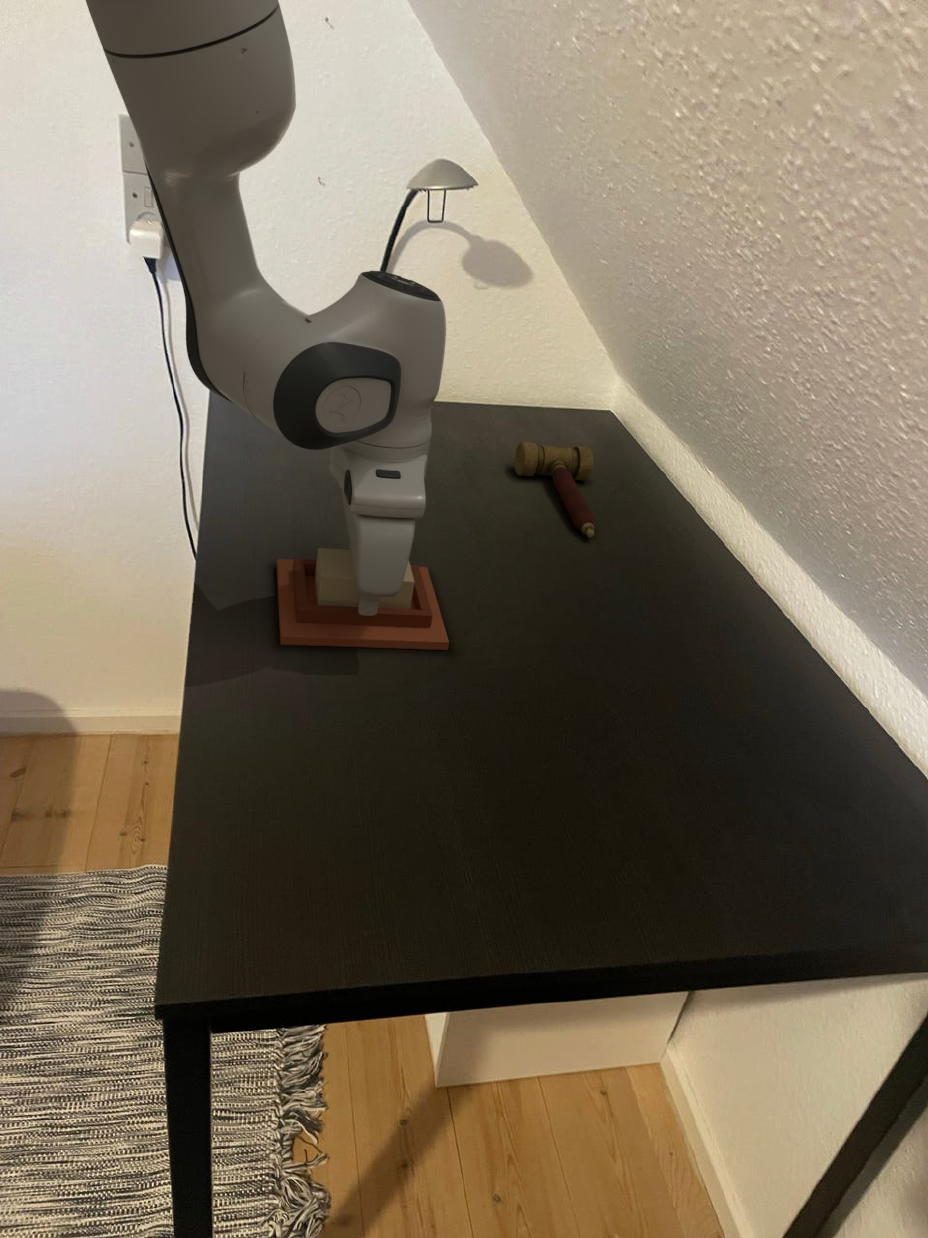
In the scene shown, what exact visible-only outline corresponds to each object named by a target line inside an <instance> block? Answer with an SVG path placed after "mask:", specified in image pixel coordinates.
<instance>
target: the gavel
mask: <svg viewBox="0 0 928 1238" xmlns="http://www.w3.org/2000/svg"><path fill="white" fill-rule="evenodd" d="M593 467H594V454H593V451H592V448H590V447H587V446H574V447H573V448H570V447H561V446H551V445H550V446H549V445H540V446H538V445H537V444H536V442H532V441H523V440H521V441H520V442H519V443H518V444H517V446H516V450H515V453H514V470H515V473H516V474H517V476H522V477H533V476H534V475H535V474H537V475H539V476H550V477H552V481H553V485H554V486H555V488H556V490H557V492H558V494H559V496H560V498H561V501H562V503H563V504H564V506H565V509H566V512H567V513H568V515H569V518H570V519H571V522H572V523H573V526H574V527H575V528H576V529H577V530H578V531H580V532H581V533H582V534H583V535H585V536H586V537H587V538H590V539H591V538H594V536H595V518H594V516H593V514H592V511H591V510H590V508H589V505H588V504H587V502H586V500H585V499H584V497H583V494H582V493H581V491H580V489H579V486H578V485H577V483H576V481H588V479H589V478H590V477H591V475H592V472H593Z"/></svg>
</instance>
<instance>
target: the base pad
mask: <svg viewBox="0 0 928 1238" xmlns="http://www.w3.org/2000/svg"><path fill="white" fill-rule="evenodd" d="M316 564H317V559H314V558H312V559H311V558H293V559H290V558H289V559H286V558H277V560H276V581H277V584H276V585H277V601H278V602H277V603H278V604H277V605H278V621H279V622H278V624H279V626H278V627H279V644H280V645H283V646H284V645H285V646H312V647H342V648H372V649H403V650H428V651H429V650H433V651H434V650H435V651H448V650H449V644H450V639H449V638H448V635H447V634H448V633H447V630H446V627H445V623H444V620H443V616H442V614H441V609H440V606H439V603H438V600H437V597H436V593H435V589H434V586H433V583H432V579H431V576H430V572H429V568H428V567H427V566H419V565H418V564H410V567H411V571H412V574H413V578H414V588H413V594H412V600H411V605H410V609H392V608H378V610H377V613H376V614H375V615H373V616H367V615H360V614H359V612H358V607H347V606H325V605H317V599H316V589H315V573H316Z"/></svg>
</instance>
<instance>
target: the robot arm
mask: <svg viewBox="0 0 928 1238" xmlns="http://www.w3.org/2000/svg"><path fill="white" fill-rule="evenodd" d="M85 3H86V7H87V9H88V12H89V15H90V18H91V20H92V23H93V25H94V28H95V32H96V35H97V37H98V40H99V42H100V45H101V47H102V51H103V53H104V56H105V58H106V61H107V64H108V66H109V69H110V72H111V74H112V76H113V79H114V82H115V83H116V86H117V89H118V91H119V93H120V97H121V98H122V101H123V104H124V106H125V109H126V112H127V114H128V116H129V120H130V121H131V124H132V126H133V128H134V132H135V134H136V137H137V140H138V145H139V148H140V150H141V151H140V152H141V154H142V158H143V162H144V166H145V170H146V173H147V177H148V181H149V185H150V187H151V190H152V194H153V197H154V200H155V204H156V207H157V210H158V213H159V216H160V219H161V222H162V226H163V228H164V231H165V235H166V238H167V241H168V244H169V248H170V250H171V253H172V257H173V260H174V263H175V266H176V270H177V272H178V275H179V279H180V282H181V286H182V288H183V295H184V296H183V297H184V301H185V303H184V304H185V343H186V344H185V345H186V347H185V348H186V354H187V358H188V361H189V364H190V367H191V369H192V372H193V374H194V375H195V376H196V378H197V379H198V380H199V382H200V383H201V384H202V385H203V386H204V387H205V388H207V389H208V390H209V391H211V392H212V393H214V394H216V395H218V396H219V397H221V398H223V399H225V400H226V401H228V402H230V403H232V404H234V405H236V406H237V407H239V409H241V410H243V411H244V412H245V413H246V414H248V415H250V416H251V417H252V418H253V419H255V420H256V421H257V422H259V423H260V424H262V425H264V426H265V427H266V428H268V429H269V430H271V431H272V432H273V433H274V434H277V435H278V437H281V438H282V439H284V440H285V441H287V442H289V443H291V444H293V445H294V446H296V447H299V448H301V449H304V450H310V451H319V450H326V449H330V455H329V465H328V469H329V472H330V474H331V476H332V477H333V478H334V479H335V480H336V481H337V483H338V485H339V486H340V488H341V498H342V499H341V500H342V505H343V510H344V516H345V522H346V529H347V533H348V540H349V546H348V550H351V551H352V557H353V563H354V568H355V574H356V580H357V585H358V591H359V593H358V601H357V606H358V612H359V614H360V615H367V616H373V615H375V614H376V613H377V610H378V604H379V600H380V598H381V597H394V596H396V595H397V594H398V592H399V591H400V589H401V587H402V584H403V581H404V577H405V573H406V569H407V565H408V560H409V561H410V556H411V552H412V548H413V542H414V538H415V531H416V519H422V518H424V515H425V511H426V504H427V491H426V490H427V488H426V475H427V469H428V463H429V453H430V446H431V442H432V435H433V427H432V426H433V425H432V417H431V416H432V408H433V405H434V402H435V400H436V398H437V396H438V394H439V391H440V387H441V382H442V381H441V380H442V375H443V368H444V362H445V353H446V342H447V316H446V310H445V306H444V302H443V300H442V299H441V298H440V297H439V295H438V294H437V293H436V292H435V291H433V290H432V289H430V288H428V287H427V286H425V285H424V284H423V285H422V284H421V283H418V282H416V281H414V280H412V279H408V278H405V277H402V276H401V275H397V274H394V273H392V272H391V273H390V272H385V271H380V270H369V271H368V270H367V271H363V272H360V273H359V274H358V276H357V278H356V280H355V282H354V284H353V286H352V287H351V288H350V289H349V290H348V291H347V292H346V293H344V294H343V295H342V296H341V297H340V298H338V299H337V300H336V301H334V302H333V303H332V304H330V305H328V306H326V307H325V308H322V309H321V310H318V311H317V312H314V313H310V314H308V313H307V312H305V311H303V310H301V309H300V308H298V307H296V306H294V305H292V304H291V303H290V302H288V300H286V299H285V298H284V297H282V296H281V295H280V293H278V292H277V291H276V290H275V289H274V288H273V287H272V286H271V285H270V283H268V281H267V280H266V278H265V277H264V276H263V274H262V272H261V270H260V268H259V265H258V261H257V258H256V253H255V250H254V249H255V248H254V245H253V241H252V236H251V233H250V229H249V225H248V220H247V216H246V212H245V208H244V204H243V199H242V195H241V189H240V177H241V173H242V172H244V171H246V170H247V169H248V170H249V169H250V168H251V167H253V166H256V165H257V164H259V163H260V162H262V161H264V160H265V159H266V158H267V157H268V156H269V155H270V154H271V153H272V152H273V151H274V150H276V148H277V147H278V145H280V143H281V142H282V140H283V139H284V137H285V135H286V133H287V132H288V130H289V128H290V125H291V123H292V121H293V117H294V114H295V112H296V109H297V96H296V92H297V91H296V79H295V68H294V61H293V55H292V50H291V45H290V41H289V37H288V32H287V28H286V24H285V20H284V16H283V13H282V9H281V4H280V2H279V0H85Z"/></svg>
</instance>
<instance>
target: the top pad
mask: <svg viewBox="0 0 928 1238" xmlns="http://www.w3.org/2000/svg"><path fill="white" fill-rule="evenodd" d="M316 560H317V564H316V573H315V589H316V599H317V605H325V606H347V607H358V606H357V601H358V593H359V591H358V585H357V580H356V574H355V568H354V563H353V557H352V551H351V550H349V549H343V548H342V549H341V548H327V547H326V548H325V547H318V548H317V556H316ZM410 565H411V563H410V559H409V560H408V565H407V569H406V573H405V577H404V581H403V584H402V587H401V589H400V591H399V592H398V594H397V595H396V596H394V597H381V598H380V600H379V604H378V608H392V609H410V605H411V600H412V594H413V588H414V578H413V574H412V571H411V567H410Z"/></svg>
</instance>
